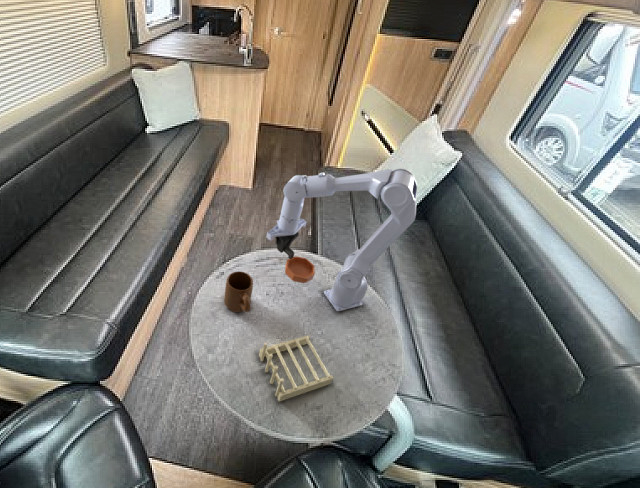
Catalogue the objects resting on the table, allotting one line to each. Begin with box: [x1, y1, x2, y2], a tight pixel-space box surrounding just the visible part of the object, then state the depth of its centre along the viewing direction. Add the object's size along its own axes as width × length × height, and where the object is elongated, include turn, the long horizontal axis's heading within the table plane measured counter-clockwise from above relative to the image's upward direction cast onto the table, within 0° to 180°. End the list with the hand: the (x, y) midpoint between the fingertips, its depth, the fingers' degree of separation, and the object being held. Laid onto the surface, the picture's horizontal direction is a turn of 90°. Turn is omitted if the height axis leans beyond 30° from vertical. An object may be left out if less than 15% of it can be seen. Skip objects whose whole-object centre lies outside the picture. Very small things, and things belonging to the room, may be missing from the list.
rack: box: [258, 334, 334, 403], centre depth 78 cm, size 14×12×7 cm
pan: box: [274, 241, 316, 284], centre depth 99 cm, size 16×9×4 cm, turn 36°
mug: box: [223, 271, 254, 313], centre depth 90 cm, size 12×8×9 cm, turn 17°
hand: (282, 249), depth 102 cm, fingers closed on pan
